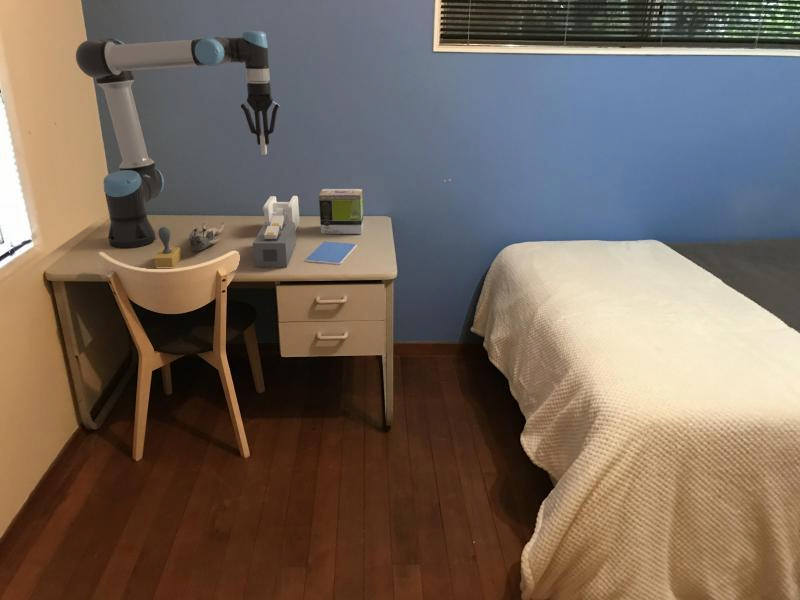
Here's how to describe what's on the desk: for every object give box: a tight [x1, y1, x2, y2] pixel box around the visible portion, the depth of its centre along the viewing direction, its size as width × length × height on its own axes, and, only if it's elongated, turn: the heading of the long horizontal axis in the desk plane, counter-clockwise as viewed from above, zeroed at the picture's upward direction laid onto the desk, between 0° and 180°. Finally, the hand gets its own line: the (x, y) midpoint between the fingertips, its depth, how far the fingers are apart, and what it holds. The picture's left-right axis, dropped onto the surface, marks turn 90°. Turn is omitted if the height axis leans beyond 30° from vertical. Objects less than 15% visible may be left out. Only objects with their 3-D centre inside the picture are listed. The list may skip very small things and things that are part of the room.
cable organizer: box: [262, 195, 300, 232], centre depth 225 cm, size 15×11×12 cm
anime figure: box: [189, 221, 226, 252], centre depth 212 cm, size 10×7×30 cm
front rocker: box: [264, 226, 279, 239], centre depth 194 cm, size 4×6×2 cm, turn 1°
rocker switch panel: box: [252, 221, 297, 268], centre depth 200 cm, size 10×22×8 cm, turn 1°
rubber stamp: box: [153, 226, 183, 268], centre depth 193 cm, size 10×6×12 cm, turn 4°
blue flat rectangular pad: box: [303, 240, 358, 266], centre depth 205 cm, size 19×13×1 cm, turn 167°
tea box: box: [318, 188, 364, 235], centre depth 224 cm, size 15×10×15 cm, turn 89°
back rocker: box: [270, 216, 284, 230], centre depth 203 cm, size 4×6×2 cm, turn 1°
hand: (264, 154), depth 212 cm, fingers closed
